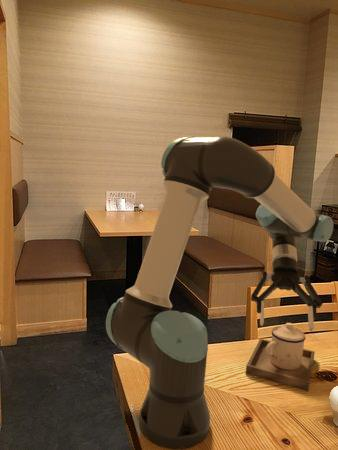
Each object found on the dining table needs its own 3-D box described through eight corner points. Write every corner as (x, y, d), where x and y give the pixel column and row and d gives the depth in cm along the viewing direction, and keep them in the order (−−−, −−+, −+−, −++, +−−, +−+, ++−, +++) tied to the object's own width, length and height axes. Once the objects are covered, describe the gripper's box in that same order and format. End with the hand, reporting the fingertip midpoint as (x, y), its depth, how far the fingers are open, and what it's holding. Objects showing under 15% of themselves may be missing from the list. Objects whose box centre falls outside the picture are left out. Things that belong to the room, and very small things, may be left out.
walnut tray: (245, 373, 102) (246, 365, 102) (259, 345, 118) (260, 338, 118) (308, 391, 96) (309, 382, 95) (313, 359, 112) (314, 351, 111)
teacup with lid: (285, 351, 113) (289, 315, 111) (309, 367, 105) (314, 327, 103) (254, 359, 108) (257, 321, 106) (276, 376, 100) (281, 335, 98)
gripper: (323, 271, 120) (329, 336, 108) (243, 264, 124) (241, 326, 112) (329, 259, 114) (336, 327, 102) (245, 252, 118) (243, 316, 106)
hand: (286, 326), depth 107 cm, fingers open, 13 cm apart
